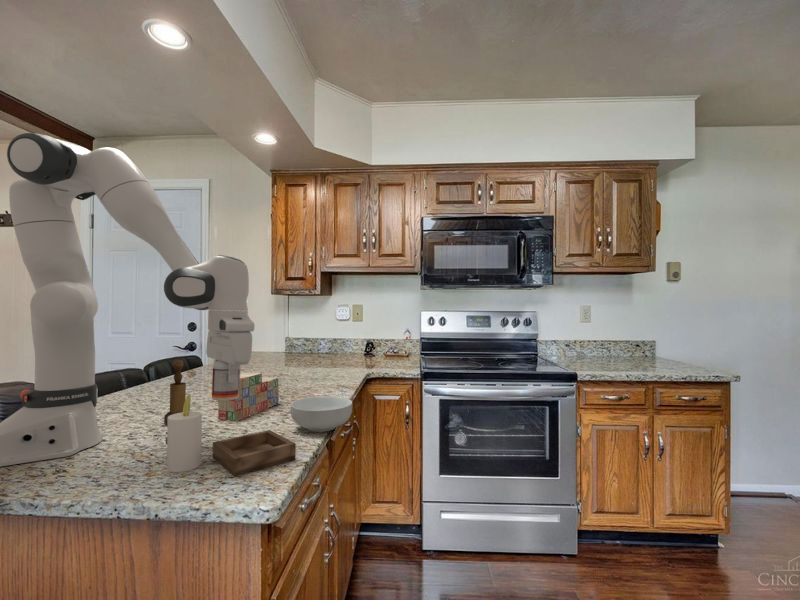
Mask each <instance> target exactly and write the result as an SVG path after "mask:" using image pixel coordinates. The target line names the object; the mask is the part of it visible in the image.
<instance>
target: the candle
mask: <svg viewBox="0 0 800 600" xmlns="http://www.w3.org/2000/svg"><path fill="white" fill-rule="evenodd" d="M191 397H192V396H191V394H190V393H189V394H188V395H186V396H185V402H184V407H183V412H181V413H176V414H172V415H170V416H168V424H167V425H166V426H167V428H166V429H167V431H165V435H166V437H165V445H167V446H166V470H167V472H171V473H183V472H188V471H192V470H195V469H196V468H199V467H200V466H201V465H202V440H203V439H202V438H203V437H202V434H203V432H202V429H203V427H202V423H203V422H202V421H203V413H202V412H200V411H191Z"/></svg>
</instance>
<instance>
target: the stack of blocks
mask: <svg viewBox="0 0 800 600" xmlns="http://www.w3.org/2000/svg"><path fill="white" fill-rule="evenodd" d="M262 374H263V373H261V372H242V373H240V387H239V397H238V398H237V399H234V400H229V401H218V408H217V409H218V410H217V411H218V412H217V414H218V415H217V419H220V420H219V421H225V420H230V421H229V422H238V421H240V420H239V419H241V420H243V419H245V417H246V418H248V417H247V416H249V415H251V416H253V415H252V414H254V415H256V414H257V413H256V412H258V413H260V412H259V411H261V412H263V411H265V410H264V409H266V408H268V409H270V408H269V407H271V408H273V407H275V406H274V405H276V406H278V405H279V392H280V390H279V389H280V387H279V378H278V377H271V376H270V377H268V376H263V375H262ZM277 404H278V405H277ZM272 406H273V407H272ZM262 410H263V411H262ZM266 410H267V409H266ZM255 413H256V414H255ZM249 417H250V416H249ZM242 418H243V419H242ZM237 420H238V421H237Z"/></svg>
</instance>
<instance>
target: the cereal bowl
mask: <svg viewBox="0 0 800 600" xmlns="http://www.w3.org/2000/svg"><path fill="white" fill-rule="evenodd" d="M352 411H353V401H352V400H351V399H349V398H345V397H340V396H333V395H332V396H331V395H321V396H320V395H319V396H318V395H315V396H308V397H302V398H298V399H296V400H293V401H292V402H291V403H290V414H291V415H290V416H291V419H292V421H294V422H295V424H297V425H298V426H300V427H302V428H305V429H306V430H308V431H309V432H314V433H317V432H318V433H323V432H330V431H333V430H335V429H336V428H338V427H340V426H342V425H344V424H346V422H348V421H349V420H350V417H351V415H352V414H353V412H352Z"/></svg>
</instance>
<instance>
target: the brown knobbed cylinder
mask: <svg viewBox="0 0 800 600" xmlns="http://www.w3.org/2000/svg"><path fill="white" fill-rule="evenodd" d="M184 366H185V363H184V361H183V359H175V360H173V361H172V363H171V367H172V369H173V370H174V375H173V380H174V382H172V383H170V384H169V387H170V388H169V411H168V412H167V413H166V414H164V417H163V419H164V420H163V423H164V425H166V426H167V424H168V416H170V415H172V414H176V413H181V412H183V407H184V402H185V400H186V391H187V390H186V388H187V387H186V386H187V383H186V382H182V380H183V374H182V370H183V368H184Z"/></svg>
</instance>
